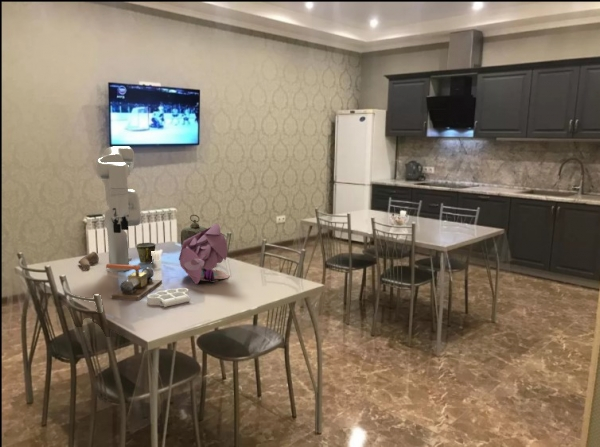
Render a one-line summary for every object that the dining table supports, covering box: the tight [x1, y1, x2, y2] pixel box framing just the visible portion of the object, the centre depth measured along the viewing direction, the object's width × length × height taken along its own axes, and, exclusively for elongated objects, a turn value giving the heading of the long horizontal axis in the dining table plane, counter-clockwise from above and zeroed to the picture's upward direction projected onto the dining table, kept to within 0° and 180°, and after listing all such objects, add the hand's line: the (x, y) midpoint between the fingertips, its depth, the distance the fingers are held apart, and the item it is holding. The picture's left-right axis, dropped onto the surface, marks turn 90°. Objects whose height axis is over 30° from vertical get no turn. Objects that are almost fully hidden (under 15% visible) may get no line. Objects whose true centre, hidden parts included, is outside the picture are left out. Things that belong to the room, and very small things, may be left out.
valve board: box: [111, 279, 163, 301], centre depth 220 cm, size 24×12×2 cm, turn 172°
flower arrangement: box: [178, 223, 230, 285], centre depth 240 cm, size 35×24×28 cm
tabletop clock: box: [180, 214, 208, 248], centre depth 274 cm, size 14×9×25 cm, turn 58°
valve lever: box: [105, 263, 141, 271], centre depth 219 cm, size 3×15×1 cm, turn 82°
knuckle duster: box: [146, 287, 191, 308], centre depth 208 cm, size 3×18×15 cm
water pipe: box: [119, 267, 155, 294], centre depth 219 cm, size 22×6×8 cm, turn 172°
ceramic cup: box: [135, 242, 157, 265], centre depth 264 cm, size 13×10×10 cm
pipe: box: [78, 251, 100, 271], centre depth 258 cm, size 6×17×10 cm
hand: (121, 230), depth 223 cm, fingers open, 6 cm apart
